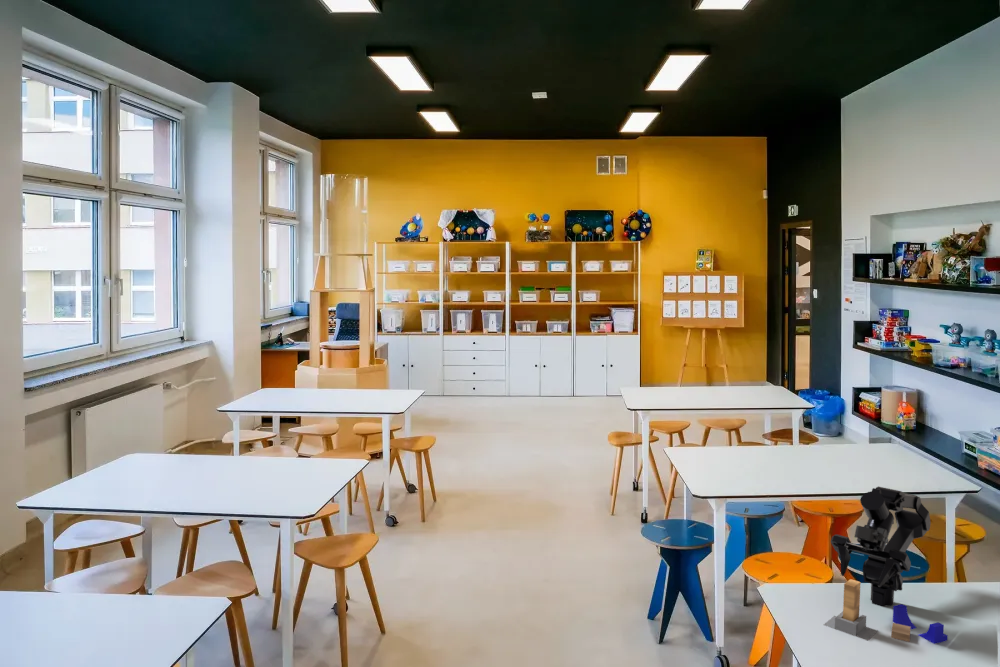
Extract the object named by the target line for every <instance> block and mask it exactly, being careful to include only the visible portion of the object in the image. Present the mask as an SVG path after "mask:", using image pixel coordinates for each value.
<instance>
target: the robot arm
mask: <svg viewBox="0 0 1000 667" xmlns="http://www.w3.org/2000/svg"><path fill="white" fill-rule="evenodd" d="M860 504H861V507H862V508H863V511H864V513H865V515H866V517H867V518H868V519H867V522H866V524H864V525H863V526H861V525H856V526H855V527H856V528H855V533H854V538H857V539H856V541H857V543H859V544H856V543H853V542H852V541H851V539H850V538H849V537H848V536H844V535H841V534H834V535H832V537H831V540H830V544H831V545H832V547H833V549H834V550H835V552H837V554H838V555H839V558H840V575H841V576H842V577H844V576H845V574H846V572H847V570H848V567H849V564H850V561H851V558H852V557H851V555H850V554H852V552H855V553H860V554H863V555H867V559H866V560H865V561H864V562H863V564H862V576H863V582H864V583H868V584H870V601H871V604H873V605H876V606H879V607H886V606H887V607H891V606H894V601H895V592H898V591H902V590H903V582H904V579H903V578H904V577H903V576H902V574H903V571H904V572H910V568H911V566H912V564H911V563H912V562H911V560H910V558H909V556H908V553H907V552H906V551H907V550H908V548H909V547H910V545H911V543H912V542H913V541H914V540H915V539H919V538H920V539H921V538H923V537H924V536H925V534H927V532H929V531H930V529H931V524H932V523H931V517H930V512H929V510H928V509H927V508H926V507H925V506H924V504H923V503H922V501H921V497H920V496H918V495H916V494H911V493H906V492H903V491H902V490H898V489H892V488H889V487H888V488H887V487H884V486H876V487H873V488H872V489H871V491H868V492H865V493H864V494H863V495H861V496H860ZM906 509H911V510H912V509H913V510H915V511H911V510H906ZM891 511H892V512H894V514H893V513H892V512H891ZM894 521H895V523H896V530H895V531H894V532H893V534H892V535H891V537H890V538H889V536H890V532H891V529H892V527H893V525H894Z"/></svg>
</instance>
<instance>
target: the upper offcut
mask: <svg viewBox="0 0 1000 667" xmlns="http://www.w3.org/2000/svg"><path fill="white" fill-rule="evenodd" d="M910 628H911V627H910V626H905V625H901V624H896V623H894V622H892V626H891V636H890V637H891V639H895V640H896V639H897V640H899V641H900V640H901V641H905V642H911V641H910V640H911V630H910Z"/></svg>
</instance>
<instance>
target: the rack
mask: <svg viewBox="0 0 1000 667" xmlns="http://www.w3.org/2000/svg"><path fill="white" fill-rule="evenodd" d="M823 626H825V627H828V628H831V629H834V630H837V631H839V632H843V633H845V634H848V635H851V636H854V637H857V638H859V639H861V640H865V641H869V640H870V639H871V638H872V637H873V636H875V634H876V633H878V632H879V630H878V629H874V628H871V627H869V626H867V615H865V614H861V615H859V618H858V619H857V620H855V621H854V622H852V621H849V620H846V619H843V611H841V612H840V613H839V614H838V615H833V616H832V617H831V618H830V619H828V620H827V621H826V622H824V623H823Z"/></svg>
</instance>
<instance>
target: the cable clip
mask: <svg viewBox="0 0 1000 667" xmlns="http://www.w3.org/2000/svg"><path fill="white" fill-rule="evenodd" d="M892 606H893V608H892V623H896V624H901V625H905V626H910V627H911V628H910V631H911V630H914V629H917V626H915V624H914V623H913V622H912V620H911V618H910V616H909V614H908V606H907V605H904V604H903V603H902V604H901V603H900V604H897V605H892ZM944 628H945V625H944V624H943V623H942V622H933V623H930V624H929V626H928V629H927V631H926V632H923V633H919V634H917V636H918V637H920V638H922V639H924V640H926V641H928V642H930V643H932V644H933V645H935V644H939V643H943V642H946V641H948V637H949V636H948V634H946V633H944V631H945V630H944Z"/></svg>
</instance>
